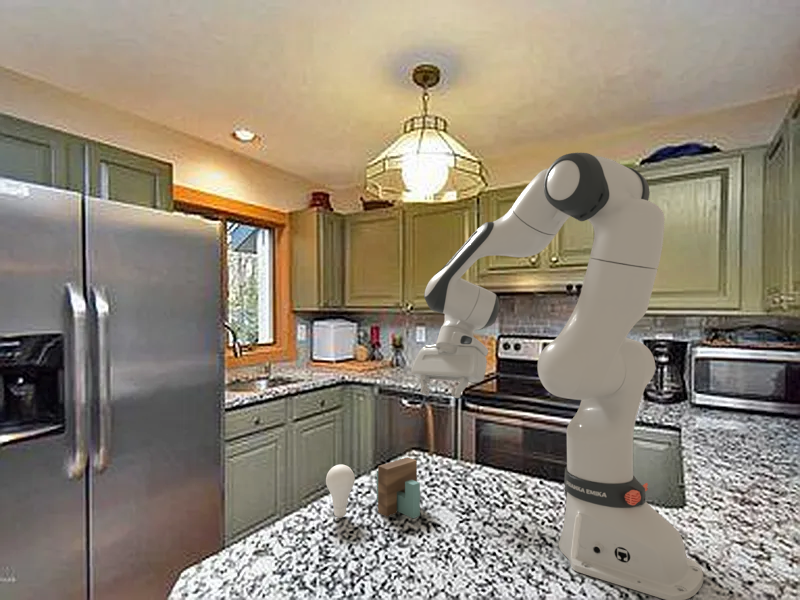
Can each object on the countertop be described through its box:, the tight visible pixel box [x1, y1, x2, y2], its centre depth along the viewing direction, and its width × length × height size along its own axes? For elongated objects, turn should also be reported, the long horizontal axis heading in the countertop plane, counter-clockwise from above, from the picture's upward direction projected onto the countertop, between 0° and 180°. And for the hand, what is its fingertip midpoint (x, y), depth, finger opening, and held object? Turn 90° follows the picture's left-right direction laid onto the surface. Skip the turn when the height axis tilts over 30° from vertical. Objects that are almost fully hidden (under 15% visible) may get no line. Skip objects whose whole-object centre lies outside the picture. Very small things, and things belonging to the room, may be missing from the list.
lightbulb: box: [325, 464, 356, 519], centre depth 96 cm, size 6×6×11 cm
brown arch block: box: [377, 456, 418, 517], centre depth 101 cm, size 3×9×10 cm, turn 133°
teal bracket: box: [376, 470, 421, 519], centre depth 101 cm, size 12×2×7 cm, turn 43°
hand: (439, 395), depth 109 cm, fingers open, 8 cm apart
